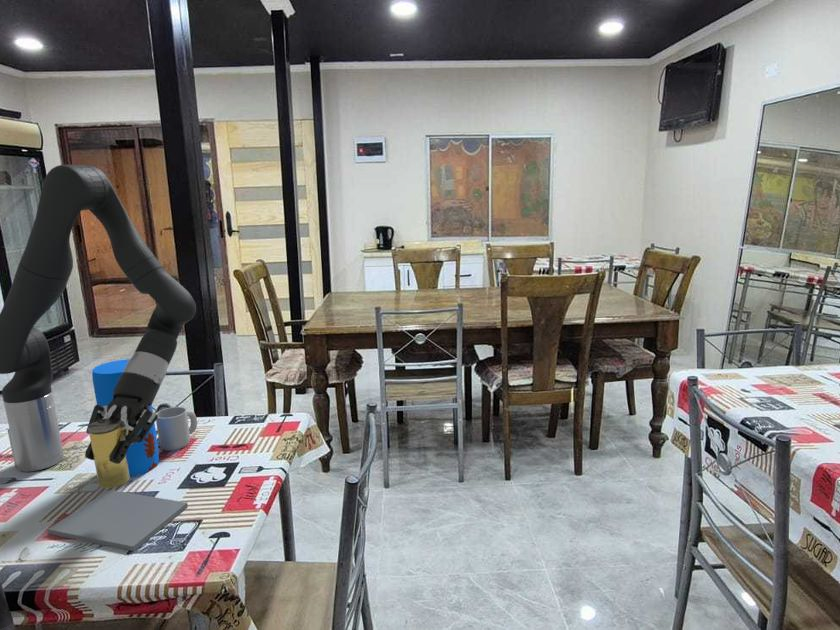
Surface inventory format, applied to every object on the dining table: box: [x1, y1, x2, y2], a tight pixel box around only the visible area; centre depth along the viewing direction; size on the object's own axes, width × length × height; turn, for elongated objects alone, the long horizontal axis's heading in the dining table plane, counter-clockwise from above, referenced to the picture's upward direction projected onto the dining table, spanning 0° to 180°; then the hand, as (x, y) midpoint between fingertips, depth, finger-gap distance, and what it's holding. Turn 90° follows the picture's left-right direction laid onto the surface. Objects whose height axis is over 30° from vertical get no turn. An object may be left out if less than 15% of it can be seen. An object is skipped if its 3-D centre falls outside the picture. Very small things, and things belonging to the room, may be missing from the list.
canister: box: [87, 418, 131, 490], centre depth 99 cm, size 5×5×12 cm
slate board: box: [47, 489, 189, 552], centre depth 102 cm, size 20×14×1 cm
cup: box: [155, 406, 198, 452], centre depth 134 cm, size 7×10×9 cm
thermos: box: [91, 358, 160, 478], centre depth 120 cm, size 11×11×25 cm
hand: (102, 460), depth 98 cm, fingers closed on canister, 5 cm apart
